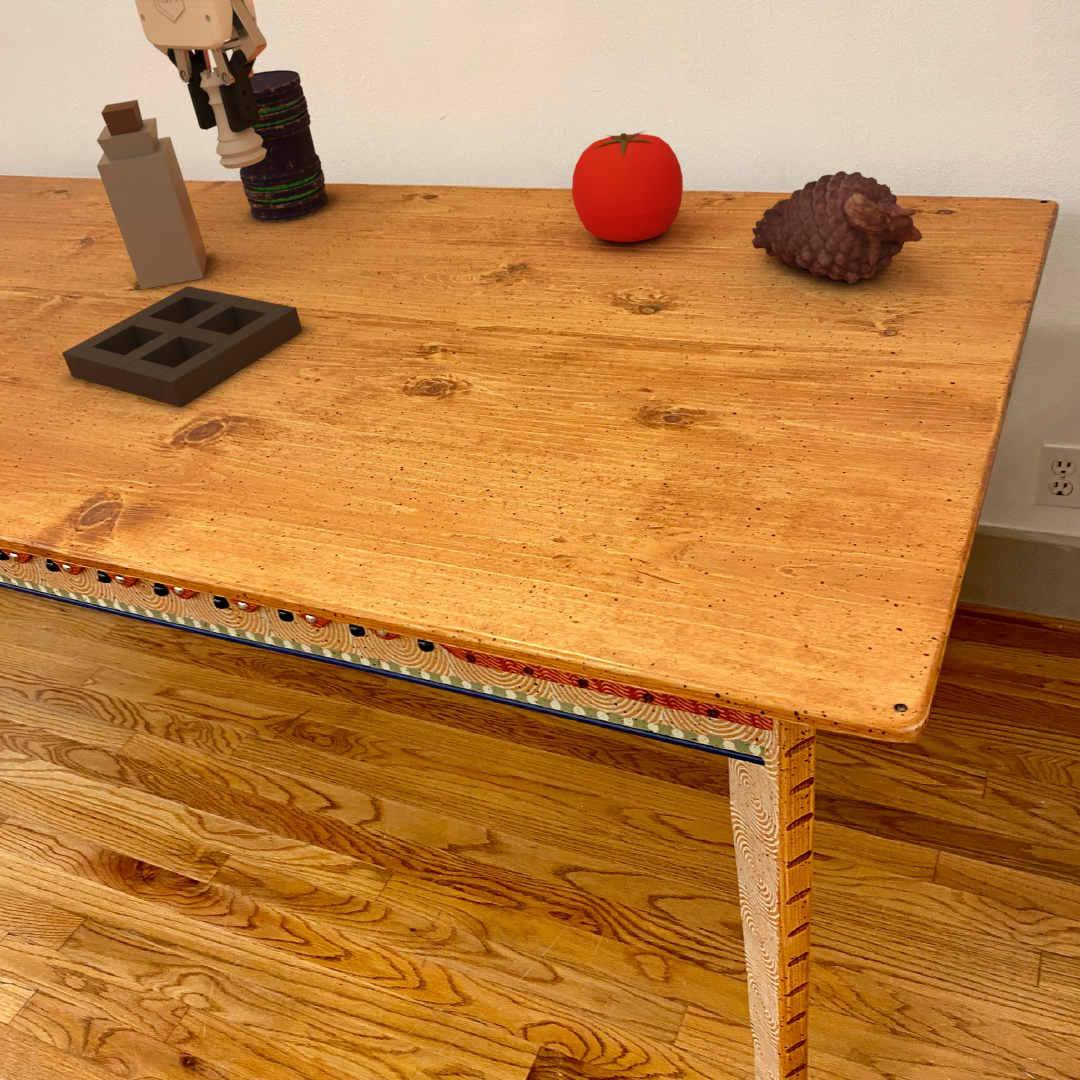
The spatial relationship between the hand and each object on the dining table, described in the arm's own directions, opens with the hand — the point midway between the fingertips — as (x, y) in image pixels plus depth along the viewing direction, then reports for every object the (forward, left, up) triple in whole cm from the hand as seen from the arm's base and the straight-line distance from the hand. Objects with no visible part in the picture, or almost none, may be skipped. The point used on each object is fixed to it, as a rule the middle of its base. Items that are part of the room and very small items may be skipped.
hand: (230, 124), depth 98 cm
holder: (-3, -10, -19) cm, 21 cm away
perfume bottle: (-21, +4, -19) cm, 28 cm away
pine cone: (+47, +26, -19) cm, 57 cm away
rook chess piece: (0, 0, -4) cm, 4 cm away
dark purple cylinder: (-22, +24, -19) cm, 38 cm away
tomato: (+24, +28, -19) cm, 41 cm away
